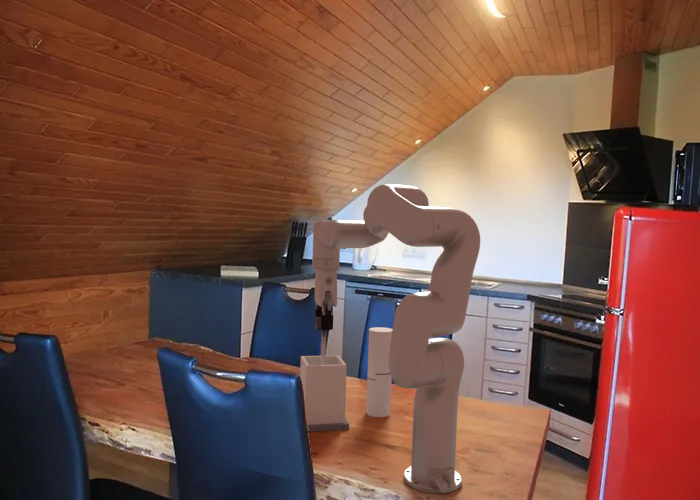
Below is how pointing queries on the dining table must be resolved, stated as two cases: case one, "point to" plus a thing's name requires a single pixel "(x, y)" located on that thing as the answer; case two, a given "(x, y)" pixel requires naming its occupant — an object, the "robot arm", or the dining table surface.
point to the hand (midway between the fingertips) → (323, 326)
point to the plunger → (323, 344)
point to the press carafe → (324, 392)
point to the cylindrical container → (379, 373)
